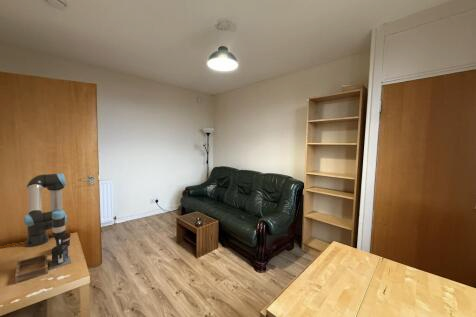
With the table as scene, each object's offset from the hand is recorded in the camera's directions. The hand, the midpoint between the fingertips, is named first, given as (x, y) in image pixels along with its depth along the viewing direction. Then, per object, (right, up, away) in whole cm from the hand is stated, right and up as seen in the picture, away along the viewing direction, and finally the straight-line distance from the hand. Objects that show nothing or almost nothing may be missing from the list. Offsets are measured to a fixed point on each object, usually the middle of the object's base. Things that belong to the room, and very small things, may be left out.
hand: (60, 259), depth 156 cm
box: (0, -1, 0) cm, 1 cm away
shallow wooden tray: (-11, -3, -10) cm, 15 cm away
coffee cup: (-11, -1, +16) cm, 19 cm away
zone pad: (0, -3, 0) cm, 3 cm away
